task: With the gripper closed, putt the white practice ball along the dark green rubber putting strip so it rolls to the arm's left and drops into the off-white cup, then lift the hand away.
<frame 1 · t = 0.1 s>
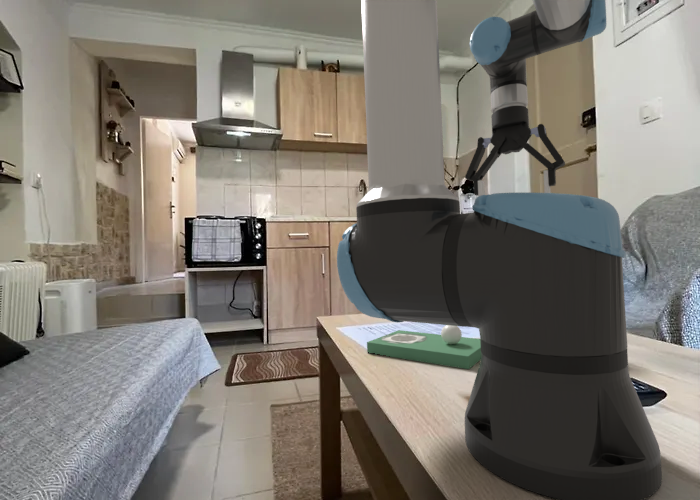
hand: (513, 205, 81), 28 cm above the table, fingers open, 13 cm apart
putting strip: (428, 352, 67), on the table
ball: (451, 334, 64), point 4 cm above the table, touching putting strip
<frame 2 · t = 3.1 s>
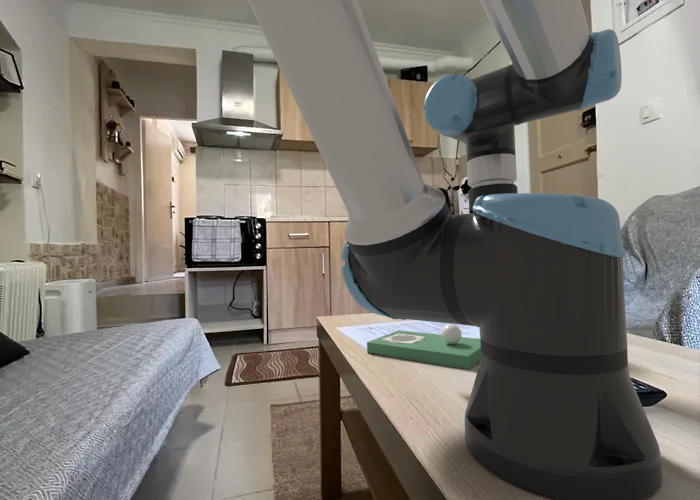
hand: (499, 329, 59), 5 cm above the table, fingers closed
nothing on the table moved.
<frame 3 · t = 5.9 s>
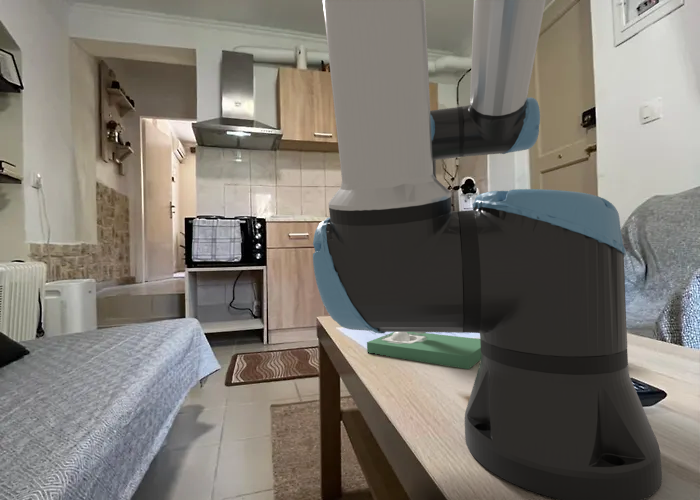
hand: (422, 332, 68), 4 cm above the table, fingers closed
ball: (400, 339, 70), point 2 cm above the table, tilted 32°
everything else where it was.
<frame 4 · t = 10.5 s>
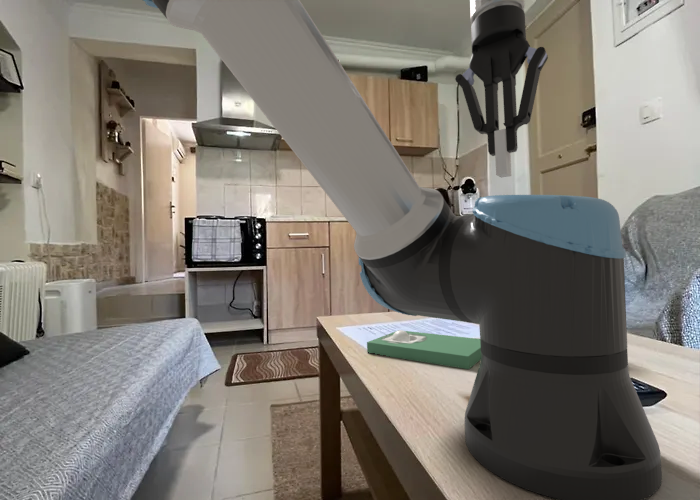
hand: (503, 175, 54), 29 cm above the table, fingers closed
ball: (401, 339, 70), point 2 cm above the table, tilted 41°
everything else where it was.
at the end: ball 0.5 cm from the target spot in the putting strip, point 1.7 cm above the putting strip's base; ball touching table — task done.
